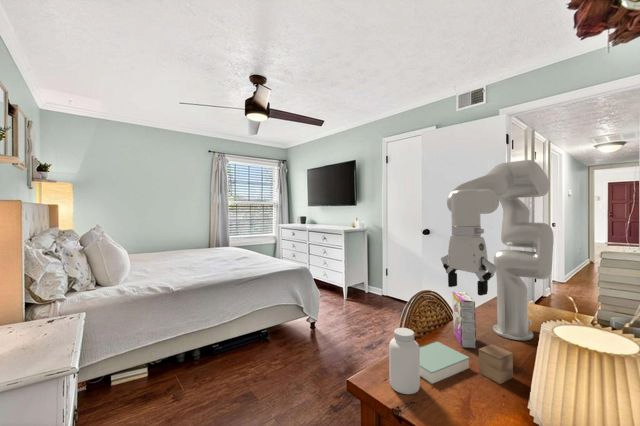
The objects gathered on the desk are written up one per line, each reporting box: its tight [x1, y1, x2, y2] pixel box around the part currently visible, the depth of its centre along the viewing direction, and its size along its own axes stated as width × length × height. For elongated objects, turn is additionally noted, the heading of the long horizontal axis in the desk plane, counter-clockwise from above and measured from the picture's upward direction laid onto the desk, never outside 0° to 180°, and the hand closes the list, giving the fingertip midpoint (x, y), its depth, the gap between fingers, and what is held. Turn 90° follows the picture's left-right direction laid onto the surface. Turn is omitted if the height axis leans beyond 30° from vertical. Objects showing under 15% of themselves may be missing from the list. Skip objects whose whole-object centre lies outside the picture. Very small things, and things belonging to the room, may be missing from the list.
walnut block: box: [478, 343, 514, 385], centre depth 81 cm, size 6×6×7 cm
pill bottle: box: [388, 327, 421, 395], centre depth 78 cm, size 8×8×15 cm
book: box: [419, 340, 470, 385], centre depth 87 cm, size 12×16×4 cm
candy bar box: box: [452, 291, 477, 349], centre depth 102 cm, size 11×5×16 cm, turn 168°
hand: (466, 290), depth 83 cm, fingers open, 9 cm apart
